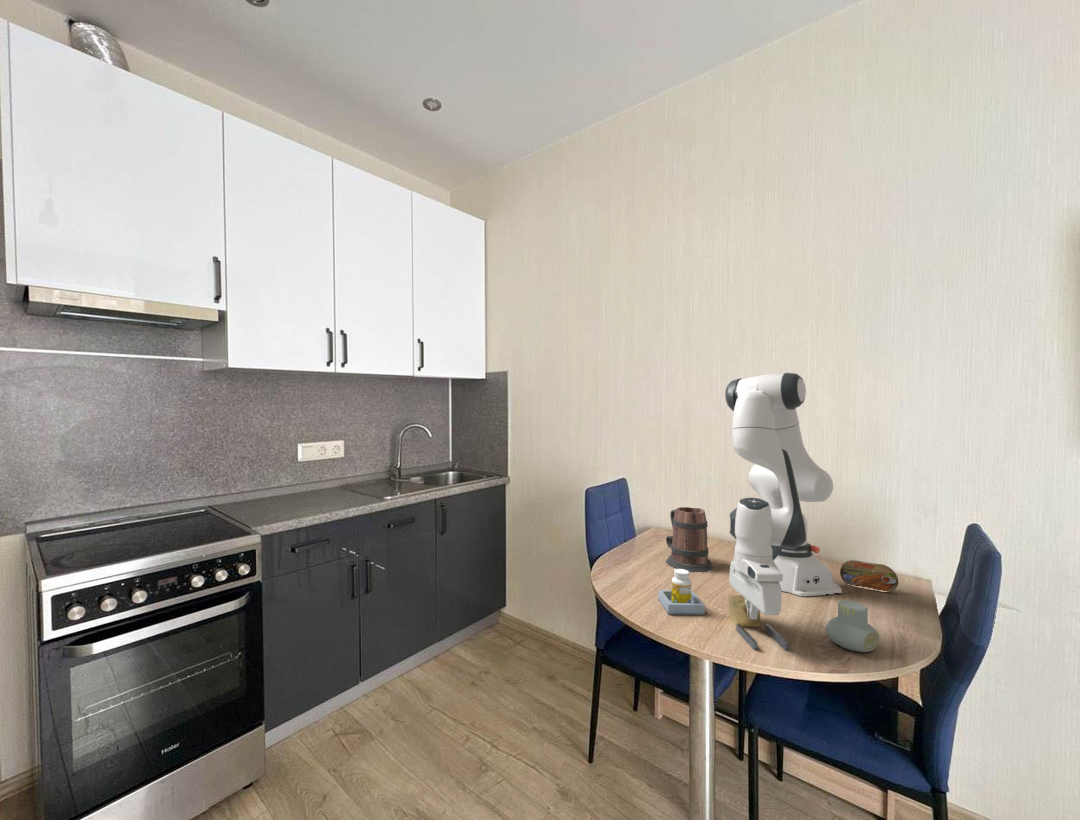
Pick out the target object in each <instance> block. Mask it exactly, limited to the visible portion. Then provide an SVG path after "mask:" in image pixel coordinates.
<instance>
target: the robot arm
mask: <svg viewBox="0 0 1080 820" xmlns="http://www.w3.org/2000/svg"><path fill="white" fill-rule="evenodd" d="M806 395H807V387H806V383H805V382H804V379H803V378H802V376H800V375H799V374H797V373H794V372H793V373H792V372H784V373H766V374H761V375H754V376H750V377H745V378H736V379H734V380H731V381H730V382H729V383H728V384H727V385H726V388H725V392H724V396H725V402H726V404H727V406H728V408H729V409H730V410H732V411H733V412H732V423H731V441H732V447H733V449H734V451H735V453H736V454H737V455H738V456H739V457H741V458H743V459H744V460H745V461H747V462H748V463H751V464H754V465H753V466H751V468H750V470H749V473H748V482H749V485H750V486H751V489H752V490H754V491H755V493H757V495H758V496H759V498H757V497H745V498H741V499H740V500H738V502H737V507H736V508H734V509H733V510H732V511H731V512H730V513H729V519H730V521H729V522H730V527H729V529H730V530H729V534H730V535H731V536H732V537H733V538H734V539H735V540H736V541H735V546H734V550H733V551H734V553H733V554H734V555H733V560H732V561H731V562H730V567H729V574H728V575H729V578H728V581H729V582H728V583H729V585H730V587H731V588H732V589H734V590H735V591H736V592H737V593H738V594H740V595H742V596H743V597H744V598H745V604H746V608H747V616H748V617H750V618H751V619H752V620H756V619H757V618H758V611H759V610H760V613H762V614H763V615H765V616H778V615H779V614H780V612H781V610H782V593H783V592H784V593H785V592H786V593H790V594H793V595H796V596H799V597H814V596H816V597H817V596H826V594H829V595H835V594H834V593H841V594H843V591H842V590H843V588H842V587H841V586H840V585H839V584H838V583H836V582H834V576H833V572H832V571H831V569H830V568H829V567H828V566H827V565H826V564H824V563H823V562H822V561H820V559H818V558H817V557H815V556H814V555H813V553H815V554H819V552H821V550H820V547H818V546H816V545H811V544H810V543H808V519H807V518H806V516H805V514H804V513H803V512H802V511H803V510H802V508H801V502H805V503H818V502H819V503H820V502H821V503H822V502H826V501H827V500H828V499H830V497H831V495H832V493H833V490H834V482H833V478H832V476H831V475H830V474H829V473H828V472H827V471H826V470H824V469H822V468H821V467H820V466H819V465H818V464H817V463H816V462H815V461H814V460H813V459H812V457H811V455H809V453H808V452H807V450H806V447H805V445H804V443H803V438H802V433H801V428H800V422H799V416H798V413H797V408H799V407H800V406H801V405H802V404H804V402H805V399H806Z"/></svg>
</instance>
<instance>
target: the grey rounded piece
mask: <svg viewBox="0 0 1080 820" xmlns="http://www.w3.org/2000/svg"><path fill="white" fill-rule="evenodd" d="M868 613H869V611H868V607H867V606H866V605H865V604H863V603H862V602H859V601H856V600H849V599H843V600H839V601H838V602H837V616H834V617H833V618H831V619H830V620H828V622H827V623H826V626H825V633H826V635H827V636H828V637H829V638H830V640H831V641H832V642H834V643H835V644H836V645H838V646H839V647H842V648H844V649H845V650H848V651H851V652H856V653H868V652H871V651H873V650H874V649H875V648H877V646H878V644H879V642H880V634H879V632H878V631H877V630H876V629H875V628H874V627H873V626H872V625H870V624H869V623H868V616H869V615H868Z"/></svg>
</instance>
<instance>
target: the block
mask: <svg viewBox="0 0 1080 820" xmlns="http://www.w3.org/2000/svg"><path fill="white" fill-rule="evenodd" d="M728 619H730V620H731V622H732V623H733V624H734V625H735V626H736V624H740V625H741V626H742V627H758V628H759V627H761V611H760V610H759V611H758V618H757V619H756V620H752V619H751V618H750V617H748V616H747V608H746V604H745V598H744V597H743V596H742V595H741V594H740V595H739V594H738V595H737V594H736V595H734V594H729V595H728Z"/></svg>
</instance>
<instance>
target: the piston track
mask: <svg viewBox="0 0 1080 820" xmlns="http://www.w3.org/2000/svg"><path fill="white" fill-rule="evenodd" d="M764 626H765V627H764V632H765V633H767V635H769V636H770V637H771V638H772V639H773V640H774V641H775V642H776V643H777V644H778V645H779V646H780V647H781V648H782V649H783V650H784V651H787V652H788V651H789V649H790V643H789V641H787V640H786V639H785V638H784V637H783V636H782V635H781V634H779V632H778V631H777V630H775V628H773V626H771V625H770V624H769V623H765V624H764ZM735 627H736V628H735V631H736V632H737V633H738V634H739V635H740V637H741V638H742V639H743V640H744V641H745V642H746V643H747V644H748V645H749V647H750V648H751V649H752V650H753V651H758V641H756V639H754V638H753V636H752V635H751V634H750V633H749V632H748V631H747V630H746V629H745V628H744V626H741V625H740V624H736V625H735Z"/></svg>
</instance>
